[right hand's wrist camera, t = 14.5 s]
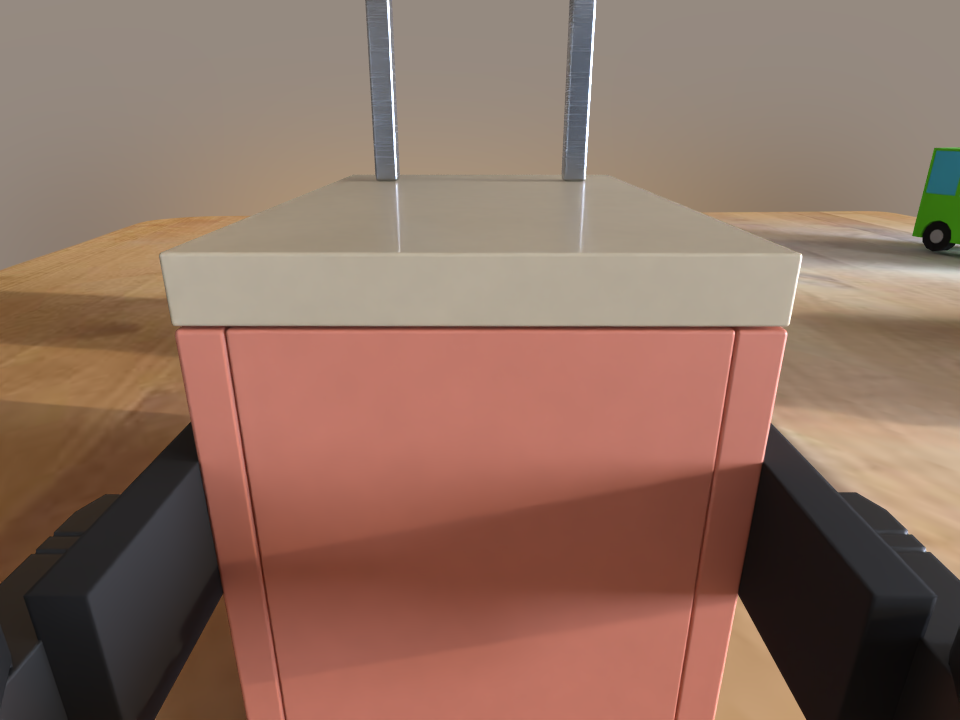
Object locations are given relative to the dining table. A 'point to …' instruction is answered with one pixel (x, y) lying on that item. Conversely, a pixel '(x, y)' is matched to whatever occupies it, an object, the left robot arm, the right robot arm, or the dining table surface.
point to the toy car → (941, 202)
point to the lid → (480, 242)
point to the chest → (480, 514)
